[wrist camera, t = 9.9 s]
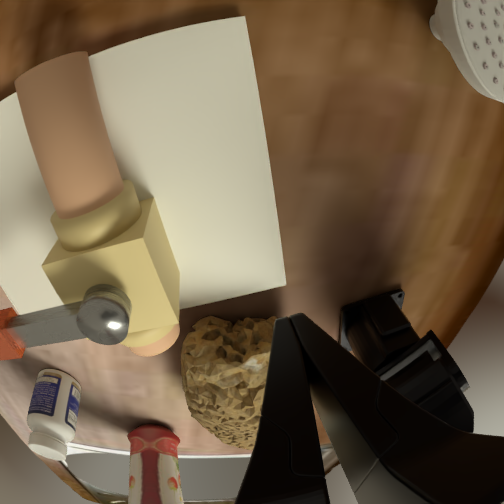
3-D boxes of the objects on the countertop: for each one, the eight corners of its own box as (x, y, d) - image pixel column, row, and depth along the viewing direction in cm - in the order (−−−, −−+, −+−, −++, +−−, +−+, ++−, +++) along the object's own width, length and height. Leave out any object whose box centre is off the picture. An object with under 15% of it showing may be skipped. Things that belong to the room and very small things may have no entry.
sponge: (164, 305, 25) (195, 443, 32) (180, 365, 18) (212, 495, 25) (306, 280, 29) (294, 416, 36) (356, 320, 22) (323, 459, 30)
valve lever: (119, 276, 14) (112, 304, 12) (140, 314, 15) (136, 343, 14) (-33, 316, 13) (-45, 337, 12) (-12, 343, 15) (-22, 364, 13)
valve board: (283, 276, 24) (305, 332, 19) (38, 328, 23) (20, 379, 18) (242, 19, 14) (263, -5, 9) (-54, 142, 13) (-104, 171, 8)
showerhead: (468, -78, 5) (555, 28, 8) (399, -56, 11) (487, 20, 14) (441, 37, 9) (532, 134, 12) (364, 40, 15) (461, 108, 18)
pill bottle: (33, 379, 26) (17, 446, 19) (45, 360, 25) (26, 435, 17) (73, 399, 29) (63, 466, 22) (89, 383, 27) (78, 457, 20)
